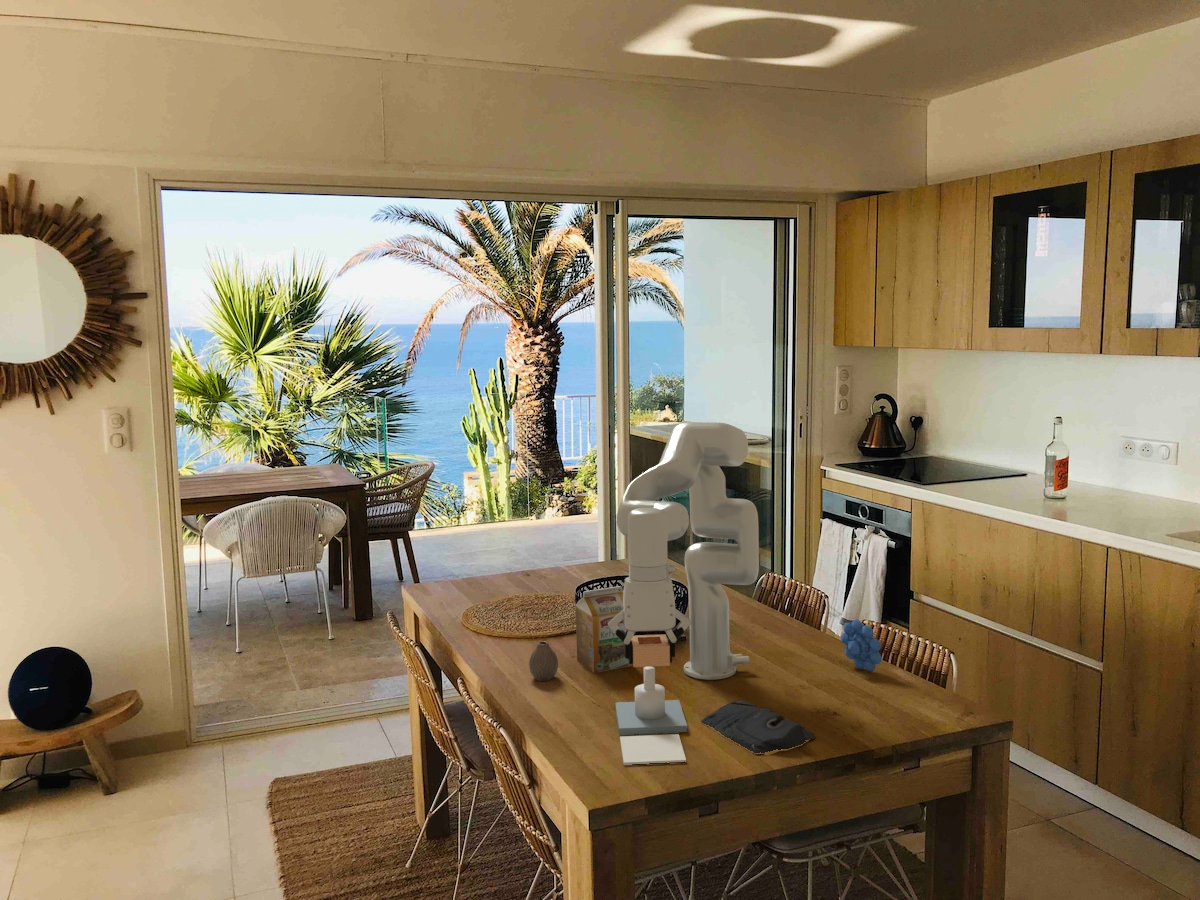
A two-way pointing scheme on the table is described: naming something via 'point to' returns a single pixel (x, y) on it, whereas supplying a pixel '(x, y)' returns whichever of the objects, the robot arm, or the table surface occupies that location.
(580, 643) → the milk carton
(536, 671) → the vase
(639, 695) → the post stand
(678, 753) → the white mat
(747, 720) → the dark pouch with grommet
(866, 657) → the grapes
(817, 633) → the table surface
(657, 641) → the copper link
